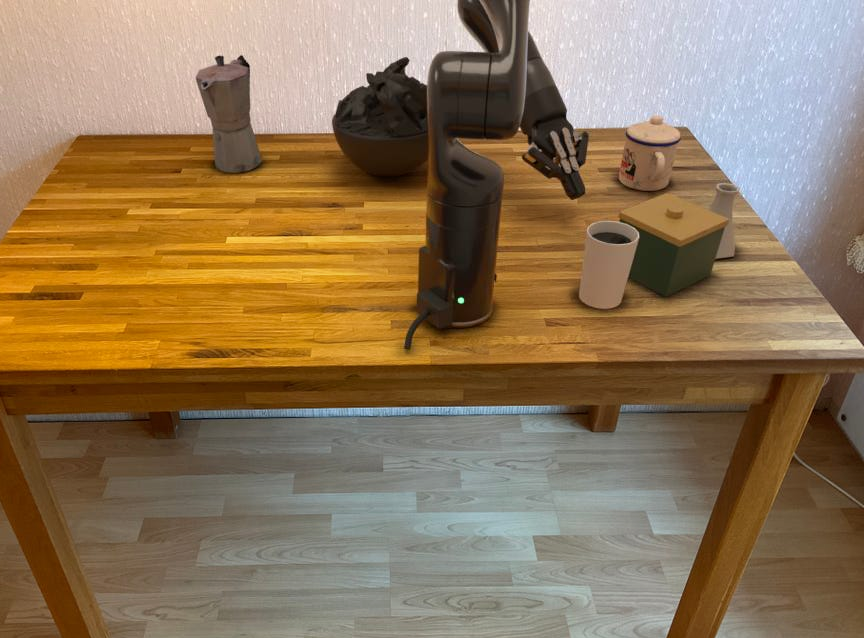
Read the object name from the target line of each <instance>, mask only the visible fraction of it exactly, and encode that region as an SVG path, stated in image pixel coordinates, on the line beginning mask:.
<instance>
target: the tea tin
mask: <svg viewBox="0 0 864 638" xmlns="http://www.w3.org/2000/svg"><path fill="white" fill-rule="evenodd" d="M617 217H618V219H619V222H620V223H624V224H627V225H629V226H631V227H633V228H635V229H636V230H637V231H638V232H639V240H638V244H637V247H636V251H635V254H634V258H633V261H632V265H631V269H630V272H629V276H628V279H631V280H633V281H634V282H637V283H638V284H640V285H642V286H644V287H645V288H648V289H649V290H652V291H653V292H656V293H657V294H659V295H661V296H662V297H664V298H667V297H669V296H671V295H673V294H675V293H677V292H680V291H681V290H683V289H685V288H688V287H690V286H691V285H694V284H695V283H698V282H700V281H701V280H704V279H706V278H708V277H710V276H711V274H712V271H713V268H714V265H715V261H716V255H717V252H718V248H719V245H720V242H721V239H722V235H723V232H724V229H725V226H727V225H728V223H729V219H728V218H726V217H723V216H721V215H719V214H716V213H714V212H712V211H709V209H707V208H704V207H702V206H699V205H697V204H696V203H693V202H690V201H688V200H685V199H683V198H681V197H679V196H677V195H674V194H671V193H670V192H666V193H664V194H663V193H662V194H660V195H659V196H655V197H653V198H650V199H648V200H646V201H643V202H640V203H638V204H636V205H635V204H634V205H633V206H629V207H627V208H625V209H623V210H620V211H619V212H618V216H617Z"/></svg>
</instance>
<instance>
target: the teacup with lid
mask: <svg viewBox="0 0 864 638" xmlns="http://www.w3.org/2000/svg"><path fill="white" fill-rule="evenodd" d="M663 120H664V119H663V117H662V116H661V115H656V114H655V115H652V116H651V117H650V119H649V120H646V121H645V120H644V121H643V122H637V123H633V124H631V125H630V126H629V127H627V129H626V131H625V136H626V137H625V142H624V147H623V152H622V159H621V161H620V162H621V163H620V167H619V172H618V180H619V182H620V183H621V184H622V185H623V186H625V187H628V188H630V189H632V190H637V191H642V192H643V191H644V192H655V191H661V190H662V189H665V188H666V187H668V185H669V183H670V178H671V175H672V171H673V167H674V162H675V158H676V154H677V150H678V146H679V143H680V141H681V139H682V135H681V132H680V131H679V130H678V129H677V128H676V127H675V126H672V125H669V124H668V123H666V122H665V121H663Z"/></svg>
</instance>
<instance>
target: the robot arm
mask: <svg viewBox="0 0 864 638" xmlns="http://www.w3.org/2000/svg"><path fill="white" fill-rule="evenodd" d="M456 3H457V4H456V7H457V14H458V17H459V20H460V22H461V23H462V25H463V27H464V29H465V30H466V31H467V33H468V34H469V35H470V36H471V37H472V38H473V39H474V40H475V41H476V43H477V44H478V45H479V46H480V47H481V49H482V50H483V51H463V50H462V51H461V50H443V51H439V52H438V53H437V54H435V56H434V57H433V59H432V60H431V62H430V65H429V69H428V72H427V73H428V74H427V81H426V85H427V125H428V160H427V174H426V175H427V176H426V177H427V178H426V211H425V212H426V213H425V242H424V244H425V245H422V246H420V247H419V248H418V266H417V267H418V269H417V271H418V273H417V293H416V313H417V314H419V315H418V316H417V317H416V318H415V320H413V322H412V323H411V324H410V326H409V327H408V330H407V332H406V335H405V340H404V346H403V349H404V350H408V351H410V350H411V348H412V343H413V337H414V335H415V333H416V331H417V329H418V328H419V326H420V325H421V324H422V323H423V322H424V321H425V320H426V321H427V322H429V323H430V324H431V325H433V327H435V328H437V329H438V330H440V329H443V330H448V329H450V328H470V327H474V326H478V325H481V324H483V323H485V322H486V321H488V319H489V318H490V317H491V315H492V314H493V309H494V308H493V307H494V303H493V300H494V289H495V283H497V278H498V275H497V273H496V269H497V268H496V267H497V257H498V246H499V237H500V226H501V215H502V206H503V195H504V193H503V192H504V185H505V184H504V183H505V174H504V171H503V169H502V167H501V166H500V165H499V164H498V163H497V162H496V161H494V160H492V159H491V158H489V157H487V156H485V155H482V154H480V153H478V152H475V151H473V150H472V149H470V148H469V147H467V146H466V145H465V144H464V143H462V142H461V141H460V140H461V139H462V140H463V139H464V140H485V141H507V140H511V139H513V138H514V137H515V135H517V133H518V131H519V129H520V131H521V133H522V134H523V135H525V136H527V137H526V138H527V144H528V148H527V150H526V151H525V152H524V153H523V154H521V159H522V161H524V162H525V163H526V164H527V165H529V166H530V167H532V168H533V169H534V170H536V171H537V172H538V173H540V174H541V175H543V176H544V177H545V178H547V179H549V180H550V179H552V178H553V179H556V180H558V181H560V184H561V186H562V188H563V190H564V193H565V195H566V196H567V197H568V198H569V199H570V201H574V200H576V199H580V198H581V197H583V196H584V195H586V186H585V184H584V181H583V179H582V177H581V174H580V172H579V170H580V169H581V167H583V166H584V165H585V164H586V161H587V154H588V147H589V140H590V139H589V138H590V135H589V133H588V132H587V131H583V132H582V133H580V132H578V131H577V130H574V129H575V128H574V126H573V124H571V122H570V121H569V120H568V118H567V114H568V108H567V106H566V104H565V102H564V99H563V97H562V94H561V92H560V91H559V88H558V86H557V83H556V82H555V80H554V77H553V75H552V73H551V71H550V70H549V67H548V66H547V65H546V63H545V61H544V59H543V58H542V57H543V56H542V55H541V52H540V51H539V49H538V45H537V44H536V41H535V40H534V38H533V36H532V34H531V32H530V31H529V20H530V19H529V17H530V5H531V0H457V2H456ZM459 139H460V140H459Z"/></svg>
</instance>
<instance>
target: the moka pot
mask: <svg viewBox="0 0 864 638" xmlns="http://www.w3.org/2000/svg"><path fill="white" fill-rule="evenodd" d="M214 59H215V63H216V64H213V65H210V66H207V67H204V68H200V69H199V70H198V72H197V73H196V75H195V81H196V84H197V87H198V90H199V94H200V97H201V100H202V103H203V106H204V109H205V112H206V115H207V118H209V119H210V124H211V126H212V141H213V152H214V153H213V154H214V164H215V167H216V169H217V170H219V171H220V172H224V173H229V174H240V173H246V172H248V171H251V170H254V169H256V168H258V166H260V165H261V163H262V161H263V158H262V155H261V152H260V148H259V146H258V142H257V139H256V135H255V133H254V129H253V126H252V123H251V120H252V119H251V114H250V113H251V86H250V85H251V65H250V64H249V62H248V61H247V60H246V59H245V57H244V55H242V54H240V55H239V56H238V57H237V59H232V60H231V61H230V62H229V63H225V57H224V55H217V56H215V57H214Z"/></svg>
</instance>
